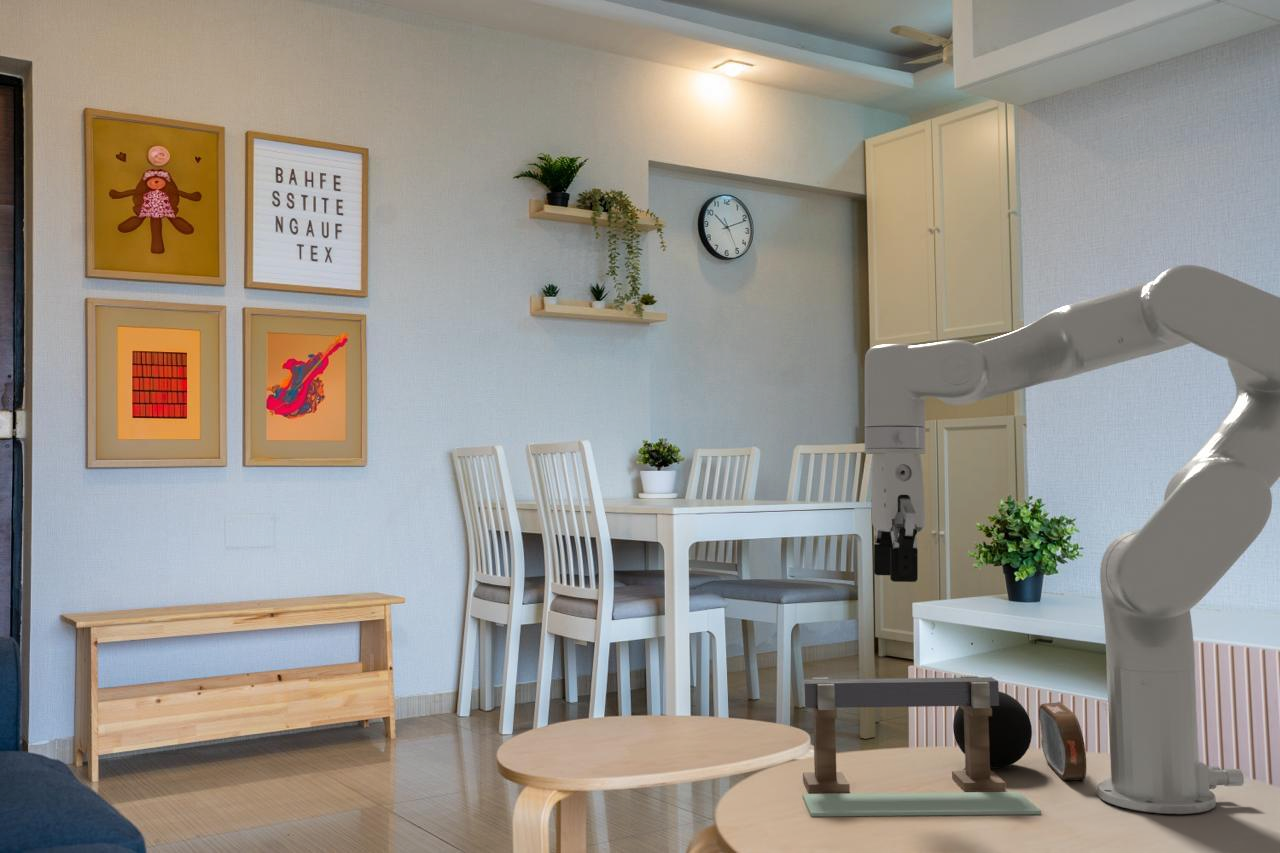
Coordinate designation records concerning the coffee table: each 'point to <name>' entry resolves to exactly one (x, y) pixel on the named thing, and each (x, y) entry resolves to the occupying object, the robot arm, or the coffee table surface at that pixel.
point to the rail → (899, 692)
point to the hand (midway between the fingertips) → (895, 578)
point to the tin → (1062, 741)
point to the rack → (969, 780)
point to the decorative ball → (1001, 731)
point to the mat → (919, 804)
